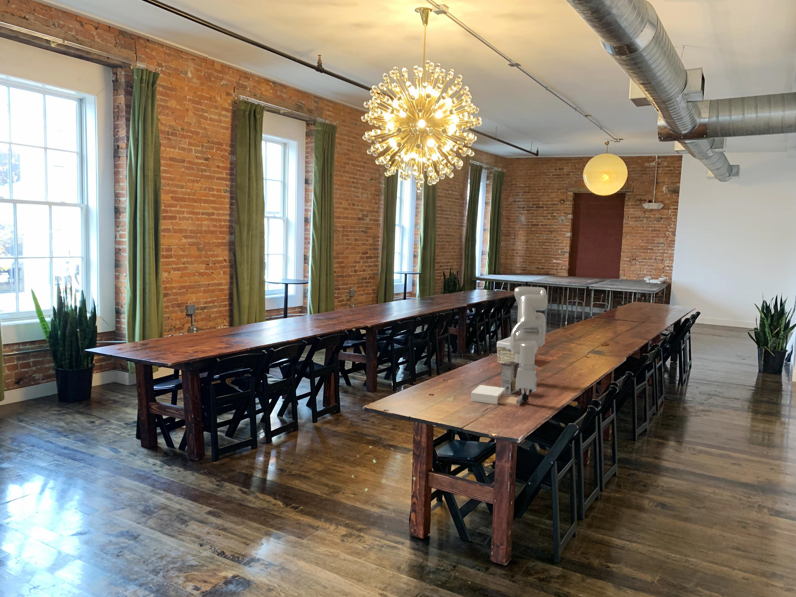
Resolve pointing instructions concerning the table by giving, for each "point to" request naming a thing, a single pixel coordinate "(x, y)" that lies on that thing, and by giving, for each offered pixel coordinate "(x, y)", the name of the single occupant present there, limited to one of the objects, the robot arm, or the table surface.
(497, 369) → the table surface
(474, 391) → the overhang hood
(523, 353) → the robot arm
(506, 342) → the storage basket
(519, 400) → the tan flat board
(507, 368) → the coffee box
